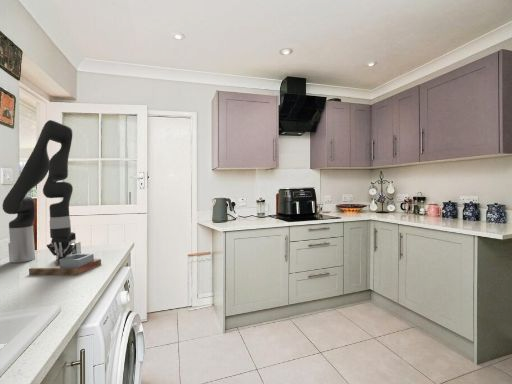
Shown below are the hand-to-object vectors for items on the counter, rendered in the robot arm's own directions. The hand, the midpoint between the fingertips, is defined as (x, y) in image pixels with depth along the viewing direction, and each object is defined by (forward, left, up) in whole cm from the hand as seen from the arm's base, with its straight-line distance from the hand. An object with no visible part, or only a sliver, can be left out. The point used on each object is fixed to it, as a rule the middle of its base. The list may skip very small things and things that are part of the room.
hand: (62, 264), depth 120 cm
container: (-12, +17, -2) cm, 21 cm away
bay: (+2, 0, -2) cm, 3 cm away
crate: (+7, 0, -2) cm, 7 cm away
